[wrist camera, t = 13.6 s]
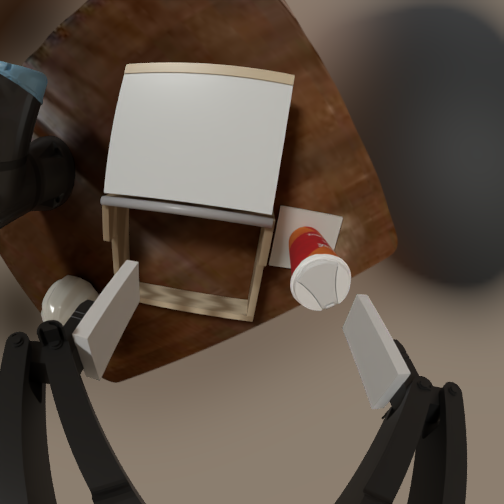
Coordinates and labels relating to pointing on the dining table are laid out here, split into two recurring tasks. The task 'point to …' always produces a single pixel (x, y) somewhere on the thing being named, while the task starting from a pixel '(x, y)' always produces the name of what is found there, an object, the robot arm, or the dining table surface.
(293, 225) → the stone tile
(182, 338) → the dining table surface
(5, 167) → the robot arm
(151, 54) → the dining table surface
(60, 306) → the vase
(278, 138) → the lid
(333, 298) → the coffee cup
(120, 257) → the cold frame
